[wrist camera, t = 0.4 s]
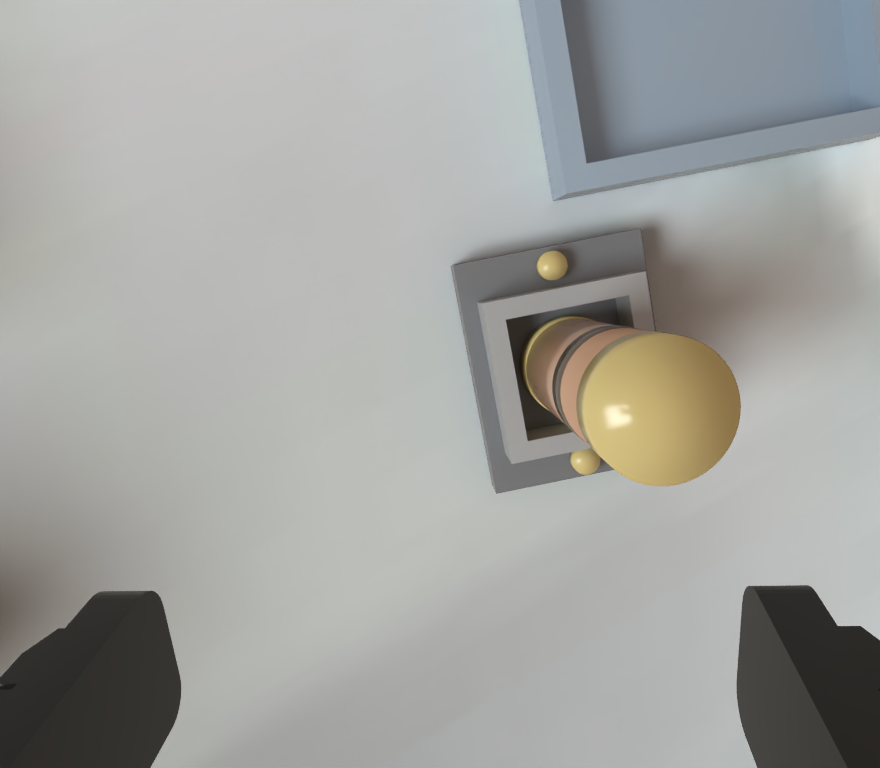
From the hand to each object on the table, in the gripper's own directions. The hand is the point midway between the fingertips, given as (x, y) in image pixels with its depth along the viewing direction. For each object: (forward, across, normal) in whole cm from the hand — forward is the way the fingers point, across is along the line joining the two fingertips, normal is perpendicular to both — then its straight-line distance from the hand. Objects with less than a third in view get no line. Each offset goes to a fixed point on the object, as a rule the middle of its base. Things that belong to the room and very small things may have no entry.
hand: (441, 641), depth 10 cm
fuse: (+22, -3, +3) cm, 23 cm away
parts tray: (+27, -9, -9) cm, 30 cm away
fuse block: (+24, -3, +4) cm, 24 cm away
